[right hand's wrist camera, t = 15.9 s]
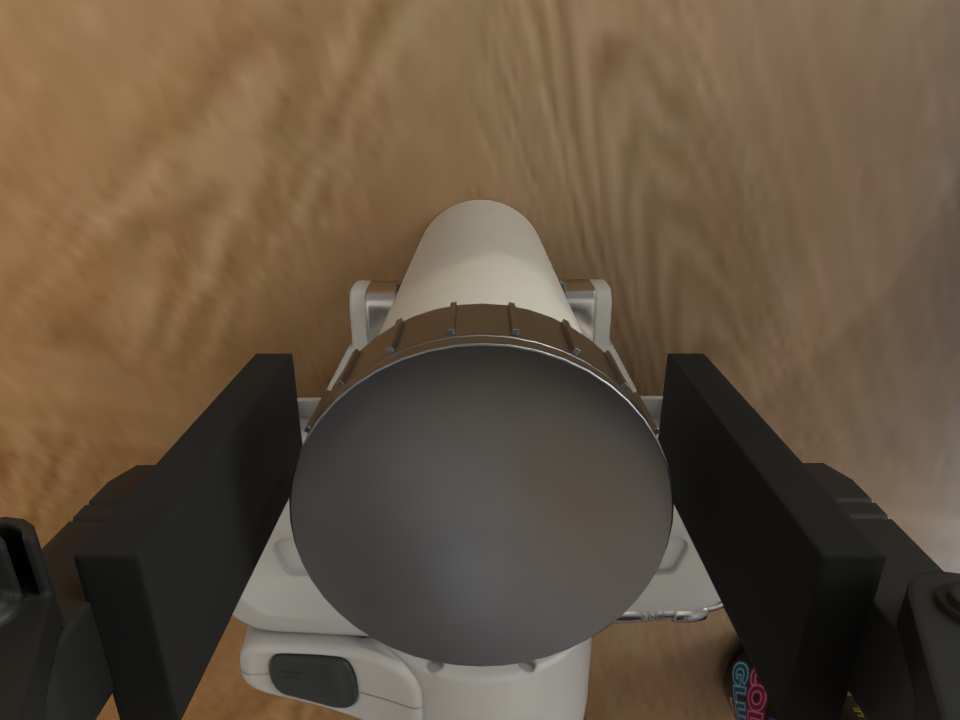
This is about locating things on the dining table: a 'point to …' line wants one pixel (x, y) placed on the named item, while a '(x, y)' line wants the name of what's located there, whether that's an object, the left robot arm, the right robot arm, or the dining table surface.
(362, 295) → the left robot arm
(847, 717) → the supplement container
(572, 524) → the lid
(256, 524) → the right robot arm
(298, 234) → the dining table surface
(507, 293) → the jar
